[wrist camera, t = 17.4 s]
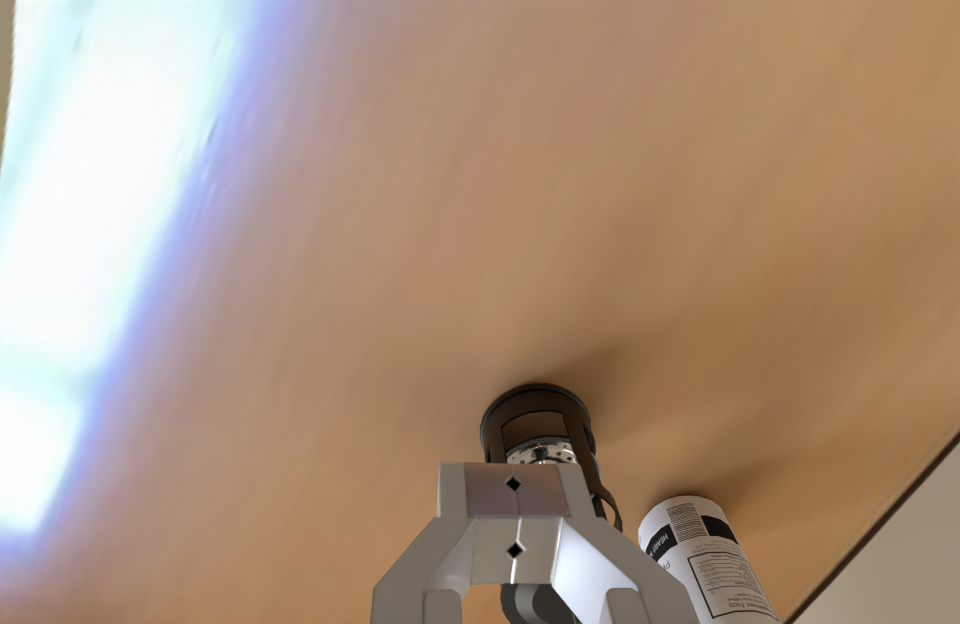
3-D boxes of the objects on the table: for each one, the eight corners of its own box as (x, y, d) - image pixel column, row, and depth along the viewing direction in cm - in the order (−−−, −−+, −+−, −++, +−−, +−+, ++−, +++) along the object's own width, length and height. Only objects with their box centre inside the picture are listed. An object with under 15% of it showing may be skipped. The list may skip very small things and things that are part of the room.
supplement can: (737, 526, 65) (816, 673, 52) (663, 567, 67) (721, 719, 54) (696, 475, 62) (769, 620, 48) (619, 520, 64) (669, 671, 50)
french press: (523, 359, 55) (579, 601, 34) (616, 405, 57) (719, 655, 37) (448, 460, 59) (459, 729, 39) (539, 499, 62) (592, 769, 41)
